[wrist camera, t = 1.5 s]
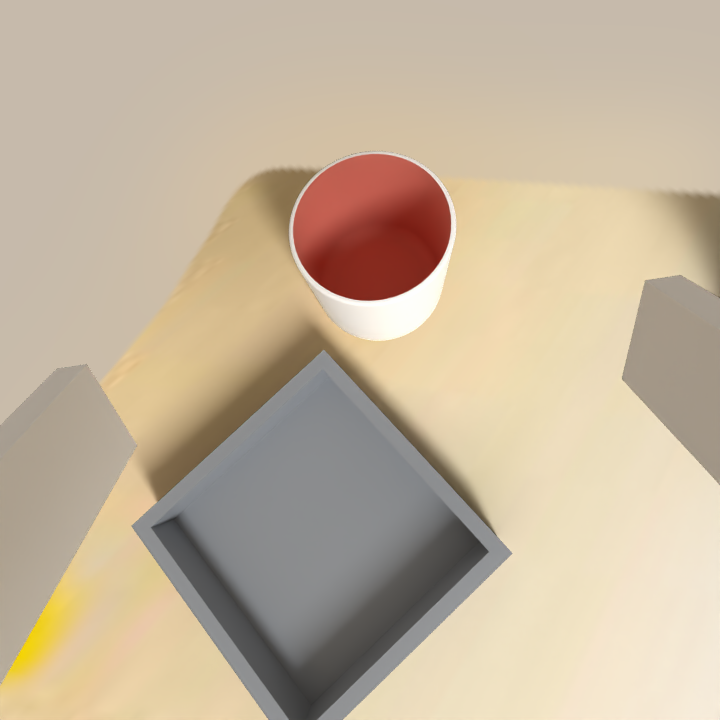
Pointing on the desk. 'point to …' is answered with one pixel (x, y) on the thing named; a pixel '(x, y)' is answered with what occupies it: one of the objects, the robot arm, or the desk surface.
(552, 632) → the desk surface
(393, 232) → the cup
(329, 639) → the tray
